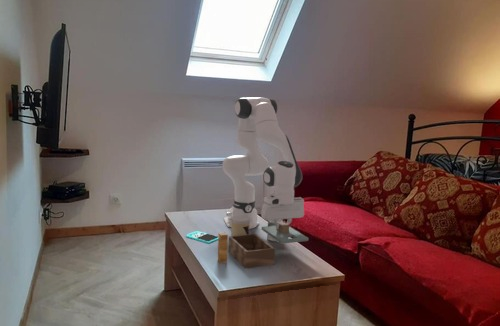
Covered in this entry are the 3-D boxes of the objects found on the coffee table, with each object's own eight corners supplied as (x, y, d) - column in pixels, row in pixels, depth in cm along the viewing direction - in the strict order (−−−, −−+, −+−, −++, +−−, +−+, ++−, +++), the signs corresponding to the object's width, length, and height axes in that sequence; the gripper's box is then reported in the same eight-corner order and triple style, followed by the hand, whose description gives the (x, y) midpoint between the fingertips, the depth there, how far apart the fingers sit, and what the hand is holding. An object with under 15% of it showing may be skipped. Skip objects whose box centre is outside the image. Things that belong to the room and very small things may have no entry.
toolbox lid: (261, 229, 190) (261, 219, 189) (286, 227, 195) (286, 217, 194) (281, 243, 171) (282, 233, 171) (308, 240, 177) (309, 230, 176)
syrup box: (282, 239, 206) (283, 211, 204) (276, 242, 201) (278, 214, 199) (272, 237, 209) (273, 209, 207) (266, 240, 204) (268, 212, 202)
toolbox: (228, 253, 185) (228, 236, 184) (254, 250, 190) (255, 233, 189) (245, 270, 167) (246, 252, 166) (273, 266, 172) (274, 248, 171)
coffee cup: (247, 246, 194) (248, 222, 193) (228, 244, 196) (228, 220, 194) (251, 240, 203) (252, 216, 202) (232, 238, 205) (233, 214, 203)
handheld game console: (197, 232, 213) (197, 230, 213) (221, 239, 204) (221, 236, 204) (184, 237, 205) (184, 234, 204) (209, 244, 196) (209, 242, 196)
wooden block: (217, 262, 174) (218, 233, 172) (224, 261, 175) (225, 232, 173) (219, 265, 171) (220, 235, 169) (226, 264, 172) (227, 234, 170)
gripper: (300, 195, 189) (298, 224, 191) (260, 197, 181) (259, 227, 183) (307, 198, 184) (305, 228, 186) (266, 201, 175) (265, 232, 178)
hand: (282, 228), depth 184 cm, fingers closed on toolbox lid, 3 cm apart
